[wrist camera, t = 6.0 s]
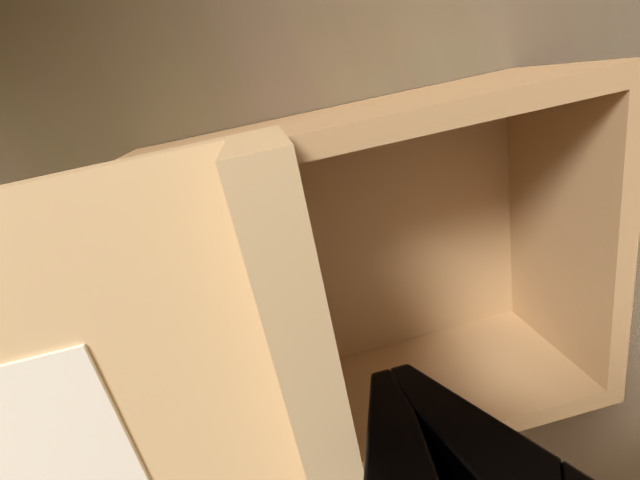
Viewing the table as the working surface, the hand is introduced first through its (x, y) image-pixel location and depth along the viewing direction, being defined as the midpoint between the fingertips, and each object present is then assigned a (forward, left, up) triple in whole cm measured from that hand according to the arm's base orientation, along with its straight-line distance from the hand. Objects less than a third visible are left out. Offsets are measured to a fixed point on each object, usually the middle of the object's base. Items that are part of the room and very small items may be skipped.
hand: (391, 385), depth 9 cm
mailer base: (-1, 0, -8) cm, 8 cm away
